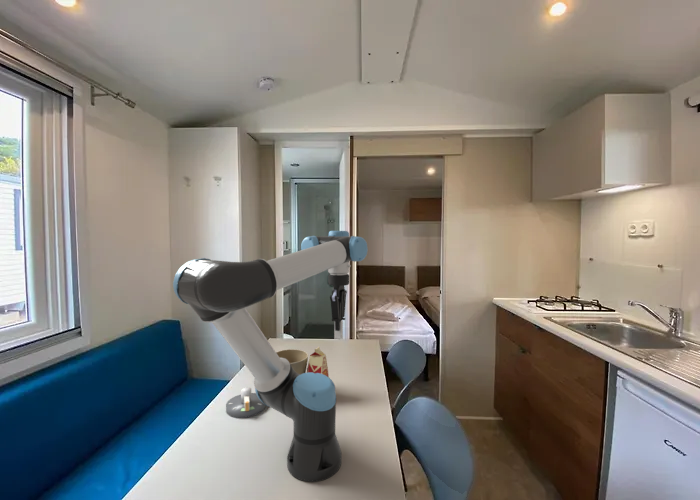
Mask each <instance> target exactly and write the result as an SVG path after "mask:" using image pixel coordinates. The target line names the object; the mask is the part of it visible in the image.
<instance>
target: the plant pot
mask: <svg viewBox="0 0 700 500" xmlns="http://www.w3.org/2000/svg"><path fill="white" fill-rule="evenodd" d="M275 352H276V353H277V355H278V356H279V358H285V359H287V360H288V361H289V363H290V364H291V366H292V367H293V369H294V370H295V371H296V372H297V373H298V374H300V375H301V374H303V373H307V367H308V362H309V353H308V352H307V351H305V350H302V349H298V348H297V349H296V348H295V349H294V348H291V349H290V348H289V349H282V350H278V351H275Z"/></svg>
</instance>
